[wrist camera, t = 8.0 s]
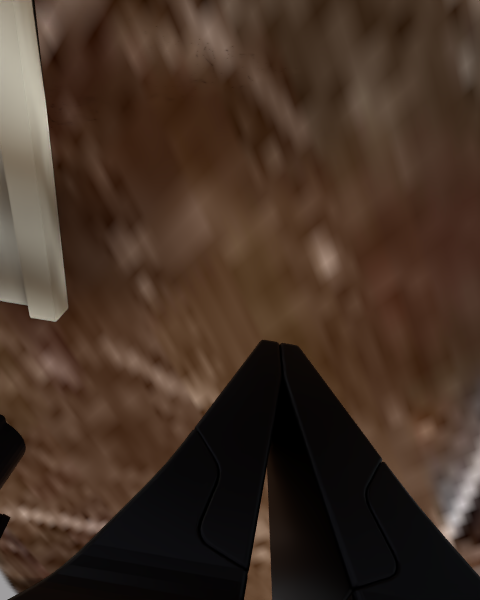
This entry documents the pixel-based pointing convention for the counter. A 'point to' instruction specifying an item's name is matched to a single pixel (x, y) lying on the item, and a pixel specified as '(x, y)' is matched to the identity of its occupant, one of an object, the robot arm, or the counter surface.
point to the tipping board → (27, 173)
